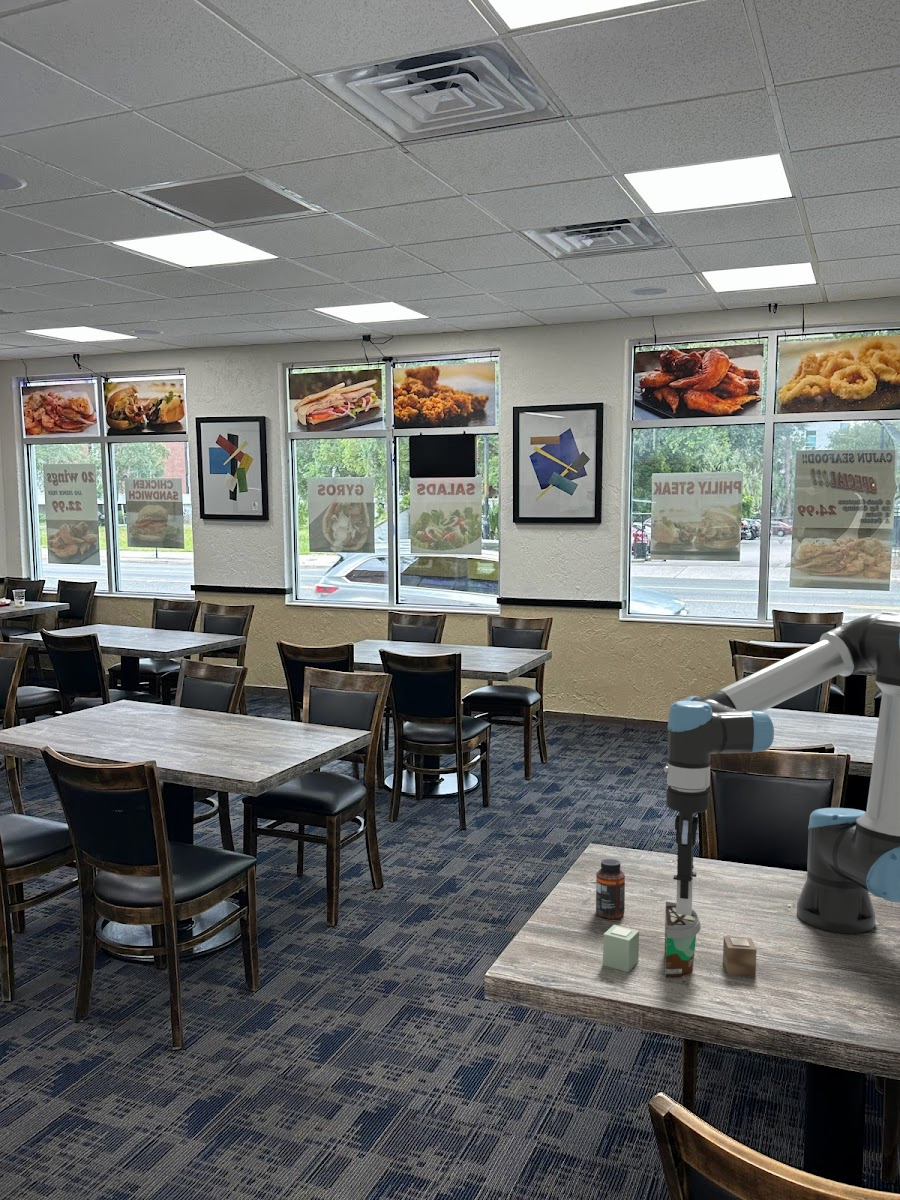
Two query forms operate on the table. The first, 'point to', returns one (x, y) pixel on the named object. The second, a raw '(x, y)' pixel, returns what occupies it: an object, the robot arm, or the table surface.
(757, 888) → the table surface
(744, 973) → the walnut block
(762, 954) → the table surface
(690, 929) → the food container
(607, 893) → the supplement bottle
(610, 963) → the sage block
